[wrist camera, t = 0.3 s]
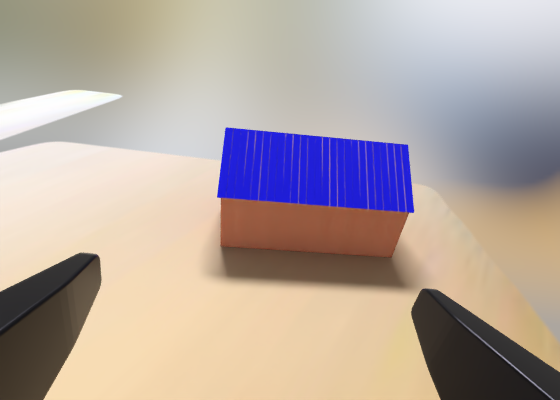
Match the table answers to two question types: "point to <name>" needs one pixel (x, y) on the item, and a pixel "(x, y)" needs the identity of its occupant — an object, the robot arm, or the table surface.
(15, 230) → the table surface
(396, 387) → the table surface
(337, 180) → the house
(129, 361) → the table surface
